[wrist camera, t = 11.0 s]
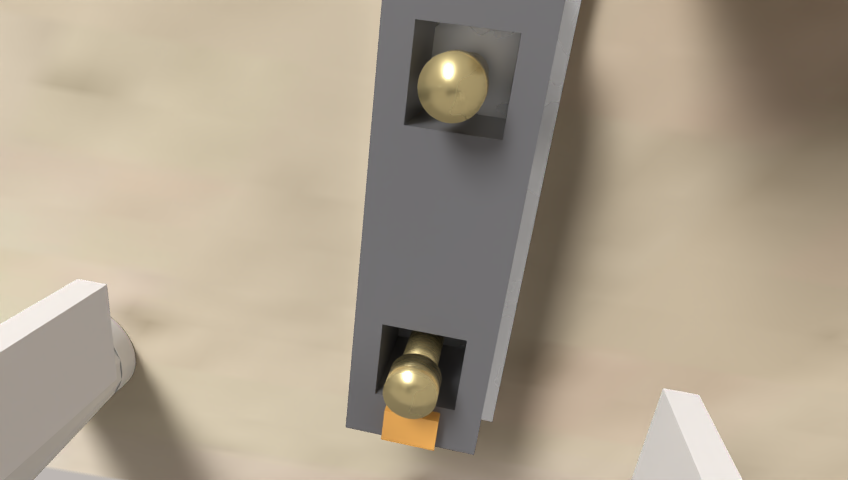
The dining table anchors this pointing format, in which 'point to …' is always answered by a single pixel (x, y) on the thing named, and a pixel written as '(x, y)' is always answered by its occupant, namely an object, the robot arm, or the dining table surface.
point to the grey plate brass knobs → (489, 95)
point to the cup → (45, 454)
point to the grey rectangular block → (442, 216)
